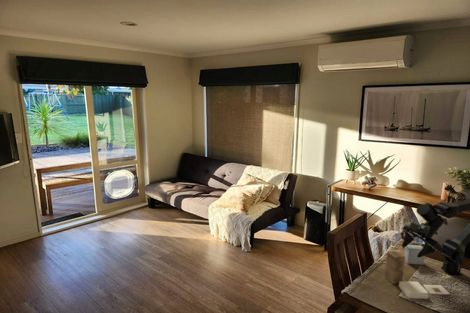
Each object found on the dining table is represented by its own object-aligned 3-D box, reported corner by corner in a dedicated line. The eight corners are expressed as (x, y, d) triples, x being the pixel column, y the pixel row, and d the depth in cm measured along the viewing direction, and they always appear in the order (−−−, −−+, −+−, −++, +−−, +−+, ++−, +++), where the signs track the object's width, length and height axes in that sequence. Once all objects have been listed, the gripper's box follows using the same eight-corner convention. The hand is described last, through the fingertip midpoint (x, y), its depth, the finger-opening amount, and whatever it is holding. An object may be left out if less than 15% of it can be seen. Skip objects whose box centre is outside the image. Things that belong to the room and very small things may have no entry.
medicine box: (419, 260, 156) (421, 245, 154) (423, 265, 151) (425, 249, 150) (403, 259, 157) (405, 244, 155) (407, 264, 152) (409, 248, 151)
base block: (416, 287, 134) (417, 281, 133) (427, 299, 126) (428, 292, 125) (398, 287, 134) (399, 281, 133) (408, 298, 126) (409, 292, 125)
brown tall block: (394, 276, 142) (396, 250, 139) (401, 282, 137) (405, 256, 134) (384, 277, 141) (387, 252, 138) (392, 283, 136) (395, 257, 133)
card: (440, 285, 134) (440, 284, 134) (449, 294, 128) (449, 293, 128) (422, 285, 135) (422, 284, 134) (430, 294, 129) (430, 293, 129)
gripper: (406, 209, 145) (385, 234, 146) (438, 224, 127) (415, 252, 128) (419, 222, 148) (399, 246, 149) (453, 238, 130) (430, 266, 131)
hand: (410, 252), depth 139 cm, fingers open, 9 cm apart
